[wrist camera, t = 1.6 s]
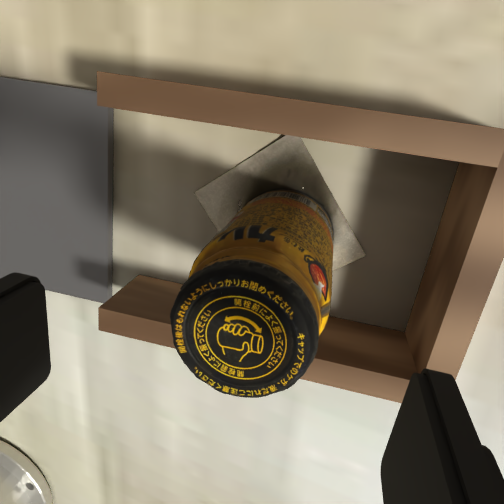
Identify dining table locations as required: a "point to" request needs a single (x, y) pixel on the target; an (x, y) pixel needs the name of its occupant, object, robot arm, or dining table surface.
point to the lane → (439, 262)
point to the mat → (56, 187)
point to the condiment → (262, 273)
